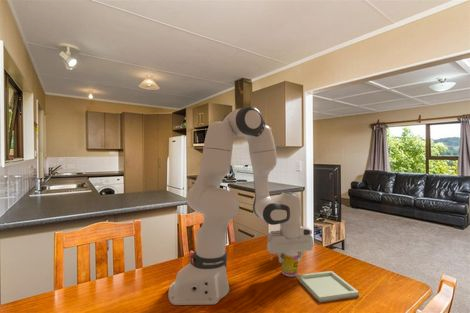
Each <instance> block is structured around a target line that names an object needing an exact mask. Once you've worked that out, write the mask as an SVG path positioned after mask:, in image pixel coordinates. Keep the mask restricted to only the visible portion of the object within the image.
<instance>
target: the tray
mask: <svg viewBox="0 0 470 313" xmlns="http://www.w3.org/2000/svg"><path fill="white" fill-rule="evenodd" d="M297 281H298V282H299V283H300V284H302V287H304V288H305V289H306V290H307V291H308V292H309V293H310V294H311V295H312V296H313V297H314V298H315V300H317V302H318V303H326V302H331V301H338V300H345V299H351V298H352V299H353V298H360V293H359V292H360V291H358V290H357V289H356V288H355V287H354V286H352V285H351V284H349V283H348V282H347V281H345V280H344V279H343V278H342V277H341V276H339V275H338V274H337V273H335V272H334V271H333V270H330V271H329V270H327V271H320V272H312V273H303V274H297Z"/></svg>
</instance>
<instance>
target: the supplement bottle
mask: <svg viewBox="0 0 470 313" xmlns="http://www.w3.org/2000/svg"><path fill="white" fill-rule="evenodd" d="M295 248H296V246H295V245H293V246H289V249H290V251H289V252H287V253H282V254H281V258H283V259H284V263H281V273H282V274H283V275H284V276H285V277H289V278H292V277H293V278H294V277H297V276H298V275H299V274H298V272H299V261H298V254H299V253H298V252H297V251H295Z"/></svg>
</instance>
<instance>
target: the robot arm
mask: <svg viewBox="0 0 470 313" xmlns="http://www.w3.org/2000/svg"><path fill="white" fill-rule="evenodd" d="M205 134H206V135H205V138H204V142H203V149H202V155H201V156H202V157H201V162H200V167H199V168H200V169H199V172H198V174H197V176H196V179H195V182H194V183H193V184H192V186H191V187H190V189H189V188H188V189H189V190H187V193H186V196H185V197H186V198H185V199H186V203H187V205H188V206H189V207H190V208H191V210H193V211H195V212H196V213H198V214H201V215H203V222H202V224H201V227H199V229H197V231H196V234H195V236H196V237H195V240H196V241H195V252H194V251H193V250H190V251H188V257H189V258H190V262H189V263H188V264H187V265H185V266H183V268H181V269H180V270H179V271H178V272H177V273H176V277H175V280H174V282H172V283H171V284H170V286H169V288H168V294H167V295H168V301H169V302H170V303H171V304H172V305H174V306H183V305H184V306H185V305H186V306H190V305H191V306H193V305H194V306H195V305H196V306H197V305H201V306H202V305H216V304H217V303H219V301H221V299H223V298H224V297H226V296H227V295H228V293H229V292H230V286H229V282H228V275H227V264H228V255H227V250H226V243H227V242H226V241H227V232H228V231H227V230H228V227H229V224H230V222H231V220H232V219H234V218H235V217H236V215H237V214H238V212H239V210H240V200H239V197H238V196H237V195H236V194H235V193H233V191H230V190H228V189H226V188H222V187H220V186H221V184H222V182H223V180H224V178H225V177H226V176H227V175H229V173H230V172H231V166H232V164H231V163H232V156H233V147H234V146H233V144H234V141H235V139H236V138H244V139H245V140H246V143H247V145H248V150H249V151H248V152H249V159H250V163H251V169H252V173H253V174H252V175H253V186H254V200H253V203H252V204H253V205H252V211H253V213H254V214H255V216H256V217H258V218H260V219H261V220H262V221H264V222H265V223H267V224H268V225H271V226H275V225H279V230H271V231H270V232H269V233H267V242H266V243H267V245H266V249H267V250H266V251H267V252H268V253H269V254H270V255H276V256H277V257H278V263H280V264H282V263H284V259H283V258H282V253H287V252H289V251H290V249H289V246H293V245H295V246H296V248H295V251H297V252H299V253H298V262H301V261H302V257H303V255H304V253H305V252H309V251H310V252H311V251H312V250H313V249H314V238H313V236H312V234H313V231H312V229H310V228H309V227H308V226H305V225H302V222H301V216H302V200H301V197H300V195H299V194H298V193H294V192H291V191H283V192H281V193H280V194H279V195H278V196H277V197H274V198H273V199H272V197H271V196H270V190H269V175H270V173H271V171H273V170H274V168H275V167H276V166H277V161H278V160H277V157H278V156H277V147H276V144H275V143H276V142H275V138H274V135H273V133H272V129H271V127H270V126H269V125H267V124H266V123H265V120H264V117H263V115H262V113H261V111H260V110H259V109H257V107H255V106H244V107H241V108H238V109H234V110H232V111H231V112H227V113H226V115H224V116H223V118H222V120H219V121H217V120H216V121H214V122H211V123H210V124H209V126H208V128H207V131H206V133H205Z"/></svg>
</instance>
